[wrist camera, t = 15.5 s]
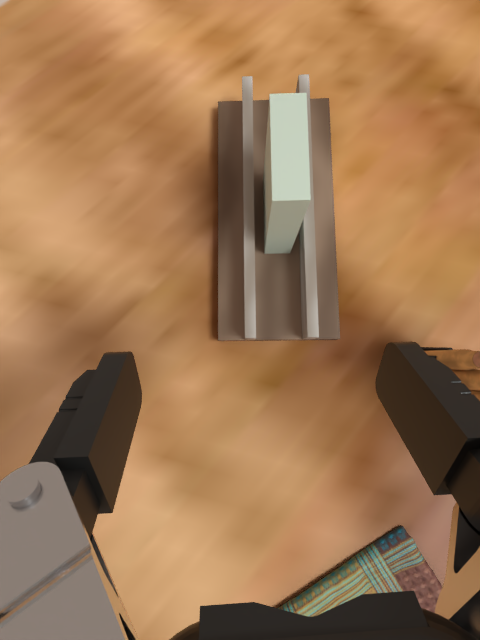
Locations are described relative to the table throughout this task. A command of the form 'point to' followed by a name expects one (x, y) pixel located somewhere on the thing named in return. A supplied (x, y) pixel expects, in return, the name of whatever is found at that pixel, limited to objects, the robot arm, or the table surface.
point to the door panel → (285, 171)
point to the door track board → (248, 232)
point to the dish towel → (373, 577)
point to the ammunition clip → (460, 365)
